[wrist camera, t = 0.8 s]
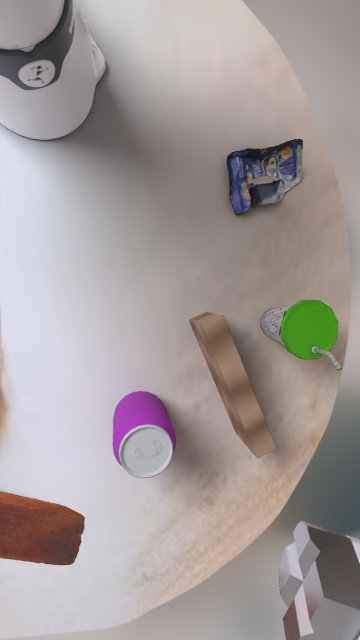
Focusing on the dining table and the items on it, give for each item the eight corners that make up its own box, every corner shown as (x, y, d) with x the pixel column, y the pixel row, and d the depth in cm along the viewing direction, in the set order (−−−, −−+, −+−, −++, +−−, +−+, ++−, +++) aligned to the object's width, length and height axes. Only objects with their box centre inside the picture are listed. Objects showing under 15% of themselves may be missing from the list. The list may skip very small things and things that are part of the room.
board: (189, 320, 49) (202, 325, 41) (206, 312, 50) (223, 315, 42) (236, 433, 52) (257, 458, 44) (252, 425, 53) (276, 448, 45)
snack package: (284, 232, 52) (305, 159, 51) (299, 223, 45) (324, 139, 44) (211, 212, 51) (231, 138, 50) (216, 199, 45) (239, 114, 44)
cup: (259, 291, 51) (317, 291, 36) (302, 306, 53) (373, 312, 38) (244, 339, 51) (295, 357, 37) (287, 352, 53) (352, 375, 38)
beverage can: (122, 445, 49) (123, 494, 37) (107, 398, 48) (103, 433, 36) (170, 428, 50) (187, 470, 38) (156, 382, 49) (169, 410, 37)
